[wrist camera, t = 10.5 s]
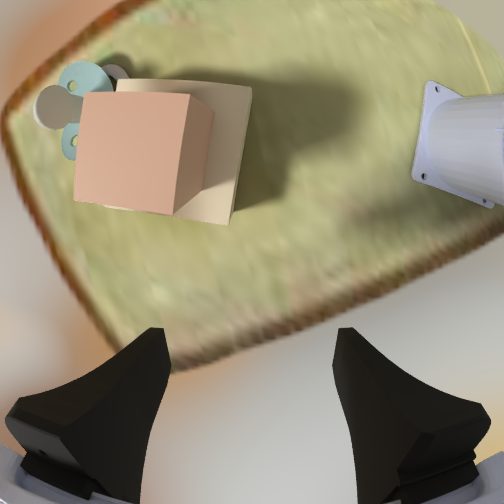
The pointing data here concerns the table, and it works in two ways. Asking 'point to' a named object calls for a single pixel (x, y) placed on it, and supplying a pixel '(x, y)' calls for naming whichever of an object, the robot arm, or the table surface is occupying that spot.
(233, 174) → the birch block
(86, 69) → the pacifier
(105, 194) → the terracotta block
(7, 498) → the robot arm
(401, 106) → the table surface
